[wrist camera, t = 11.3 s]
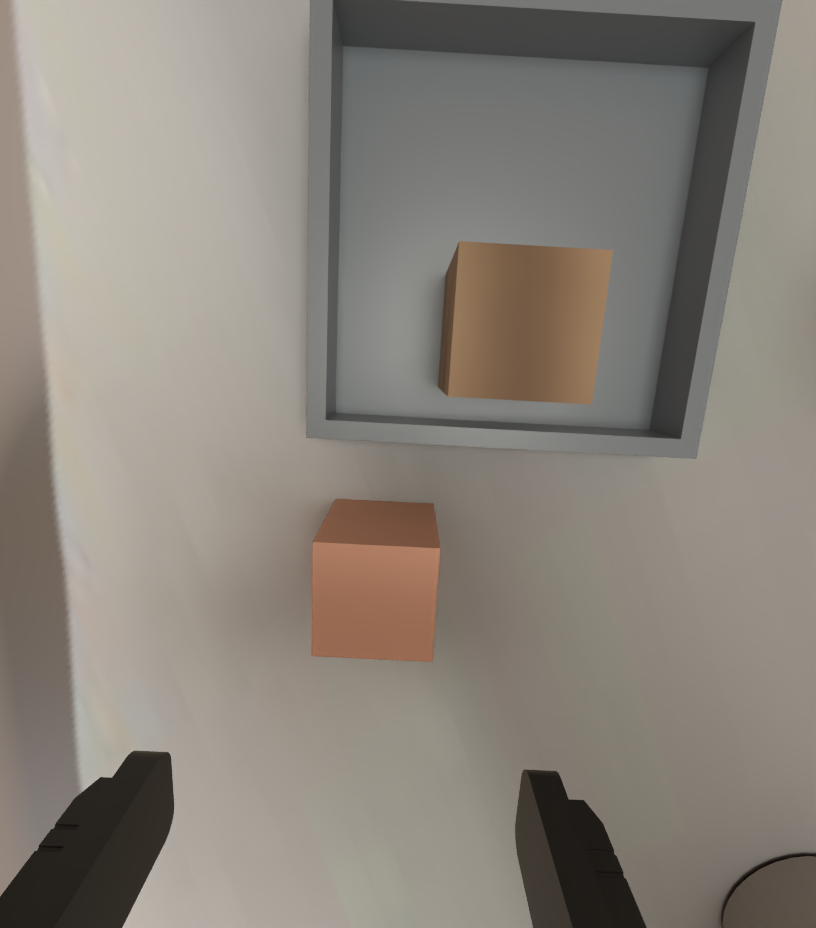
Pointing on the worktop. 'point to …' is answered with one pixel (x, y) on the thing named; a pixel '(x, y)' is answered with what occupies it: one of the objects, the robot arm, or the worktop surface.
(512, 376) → the walnut block
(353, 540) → the terracotta block
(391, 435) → the tray
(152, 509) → the worktop surface
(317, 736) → the worktop surface
